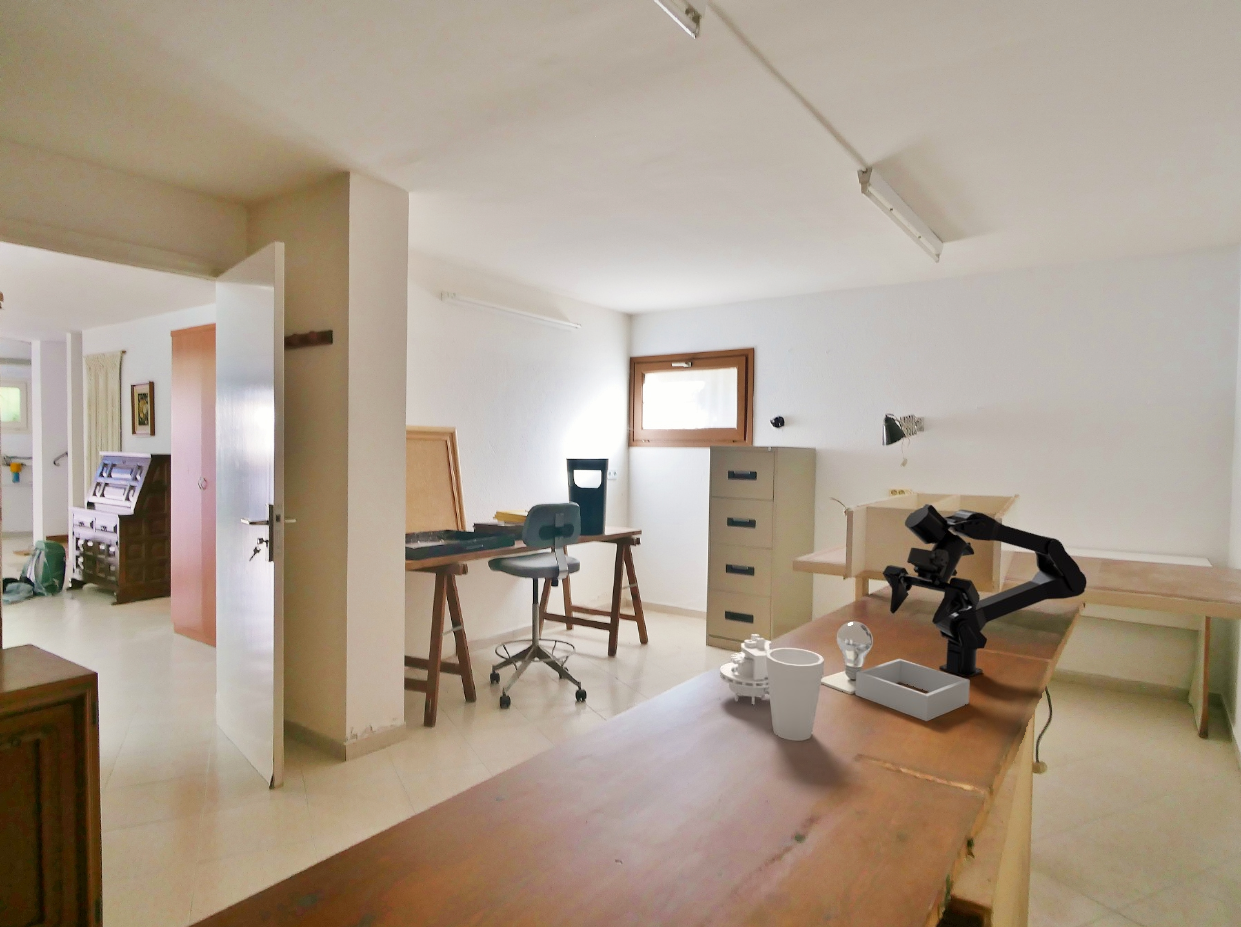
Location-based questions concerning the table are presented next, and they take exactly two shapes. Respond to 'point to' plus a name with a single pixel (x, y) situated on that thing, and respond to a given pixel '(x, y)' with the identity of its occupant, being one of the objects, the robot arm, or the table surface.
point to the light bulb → (854, 646)
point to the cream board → (840, 682)
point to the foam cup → (793, 690)
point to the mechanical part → (748, 669)
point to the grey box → (884, 690)
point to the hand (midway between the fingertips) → (912, 617)
